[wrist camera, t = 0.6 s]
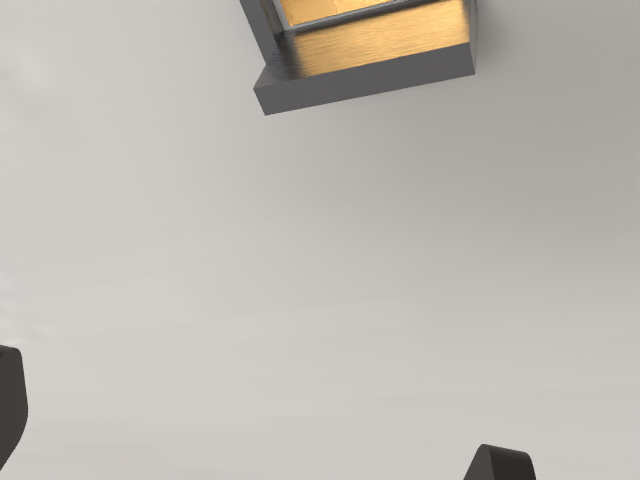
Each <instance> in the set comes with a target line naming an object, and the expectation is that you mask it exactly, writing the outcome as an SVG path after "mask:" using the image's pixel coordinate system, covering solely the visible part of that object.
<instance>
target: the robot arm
mask: <svg viewBox="0 0 640 480" xmlns="http://www.w3.org/2000/svg"><path fill="white" fill-rule="evenodd" d="M27 417H28V403H27V395H26V387H25V379H24V371H23V363H22V356H21V353H20V351H19V349H17V348H13V347H8V346H3V345H0V470H1V469H2V467H3V466H4V464H5V463H6V461H7V460H8V458H9V457H10V455H11V454H12V452H13V451H14V449H15V447H16V446H17V444H18V443H19V441H20V439H21V436H22V434H23V432H24V429H25V425H26V422H27ZM463 480H536V477H535V472H534V468H533V464H532V460H531V458H530V456H529V455H528V454H527V453H526V452H521V451H516V450H511V449H506V448H501V447H497V446H492V445H487V444H482V445H481V446H480V447H479V448H478V450H477V452H476V454H475V456H474V458H473V460H472V462H471V465H470V467H469V469H468V471H467V473H466V475H465V477H464V479H463Z"/></svg>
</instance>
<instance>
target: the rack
mask: <svg viewBox="0 0 640 480" xmlns="http://www.w3.org/2000/svg"><path fill="white" fill-rule="evenodd" d="M388 1H392V0H280V2H281V4H282V7H283V10H284V12H285V15H286V18H287V20H288V23H289V26H293V25H297V24H301V23H305V22H309V21H313V20H316V19H320V18H324V17H328V16H332V15H336V14H340V13H344V12H348V11H352V10H356V9H360V8H364V7H368V6H372V5H376V4H380V3H384V2H388ZM240 3H241V5H242V7H243V10H244V12H245V15H246V17H247V19H248V22H249V24H250V27H251V29H252V31H253V34H254V36H255V39H256V41H257V43H258V46H259V48H260V51H261V53H262V55H263V58H264V60H265V63H266V65H265V67H264V69H263V71H262V73H261V75H260V77H259V79H258V80H257V82H256V84H255V86H254V88H253V89H254V92H255V94H256V96H257V98H258V101H259V103H260V105H261V107H262V110H263V112H264V114H265V116H266V115H271V114H276V113H281V112H286V111H291V110H296V109H301V108H306V107H311V106H316V105H321V104H327V103H332V102H337V101H342V100H347V99H352V98H357V97H362V96H367V95H372V94H377V93H382V92H388V91H393V90H398V89H403V88H408V87H413V86H418V85H423V84H428V83H433V82H438V81H443V80H449V79H454V78H459V77H464V76H469V75H474V74H475V63H476V34H477V10H476V4H475V0H408V1H404V2H400V3H396V4H392V5H388V6H384V7H380V8H376V9H372V10H368V11H364V12H360V13H356V14H352V15H348V16H344V17H340V18H336V19H332V20H328V21H324V22H320V23H316V24H312V25H308V26H304V27H300V28H296V29H292V30H288V31H283V29H282V26H281V24H280V21H279V18H278V16H277V13H276V11H275V8H274V5H273V3H272V0H240Z"/></svg>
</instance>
